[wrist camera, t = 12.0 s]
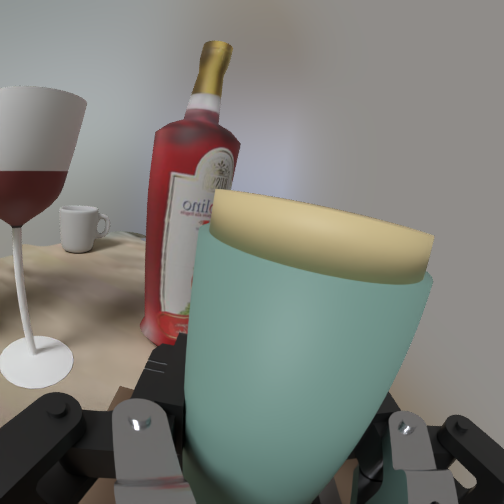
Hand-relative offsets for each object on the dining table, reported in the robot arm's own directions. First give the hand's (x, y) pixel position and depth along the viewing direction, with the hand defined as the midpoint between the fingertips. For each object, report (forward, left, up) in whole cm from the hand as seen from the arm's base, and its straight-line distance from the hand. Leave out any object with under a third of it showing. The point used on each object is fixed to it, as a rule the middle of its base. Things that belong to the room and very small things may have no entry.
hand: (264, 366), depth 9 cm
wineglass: (-17, +6, -10) cm, 21 cm away
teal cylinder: (0, -3, -7) cm, 7 cm away
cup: (-30, +38, -10) cm, 50 cm away
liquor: (-6, +15, -10) cm, 19 cm away
